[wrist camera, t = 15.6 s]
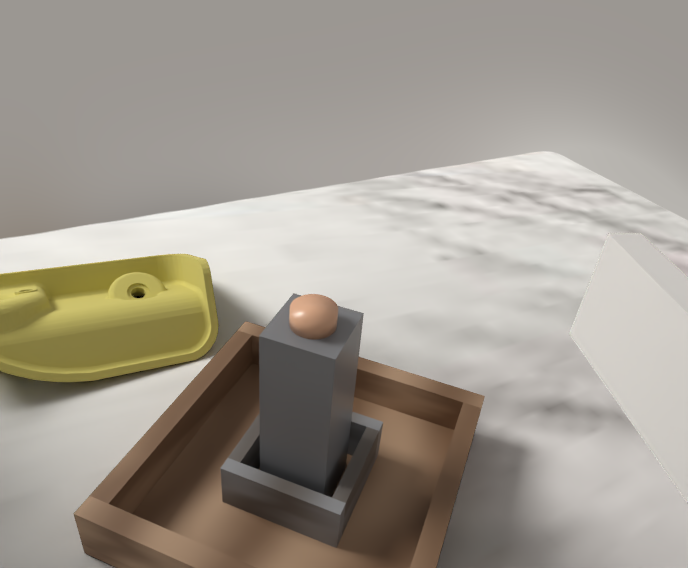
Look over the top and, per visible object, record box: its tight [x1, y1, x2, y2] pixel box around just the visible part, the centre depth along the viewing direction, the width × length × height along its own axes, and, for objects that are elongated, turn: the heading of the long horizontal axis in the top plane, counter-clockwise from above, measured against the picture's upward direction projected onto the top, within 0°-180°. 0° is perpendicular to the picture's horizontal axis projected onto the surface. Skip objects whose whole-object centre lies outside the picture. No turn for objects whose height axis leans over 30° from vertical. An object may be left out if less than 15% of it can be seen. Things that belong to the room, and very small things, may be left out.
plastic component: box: [0, 254, 219, 382], centre depth 47 cm, size 20×7×10 cm
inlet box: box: [74, 321, 485, 568], centre depth 37 cm, size 18×18×4 cm
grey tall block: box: [259, 293, 364, 497], centre depth 34 cm, size 4×4×13 cm
